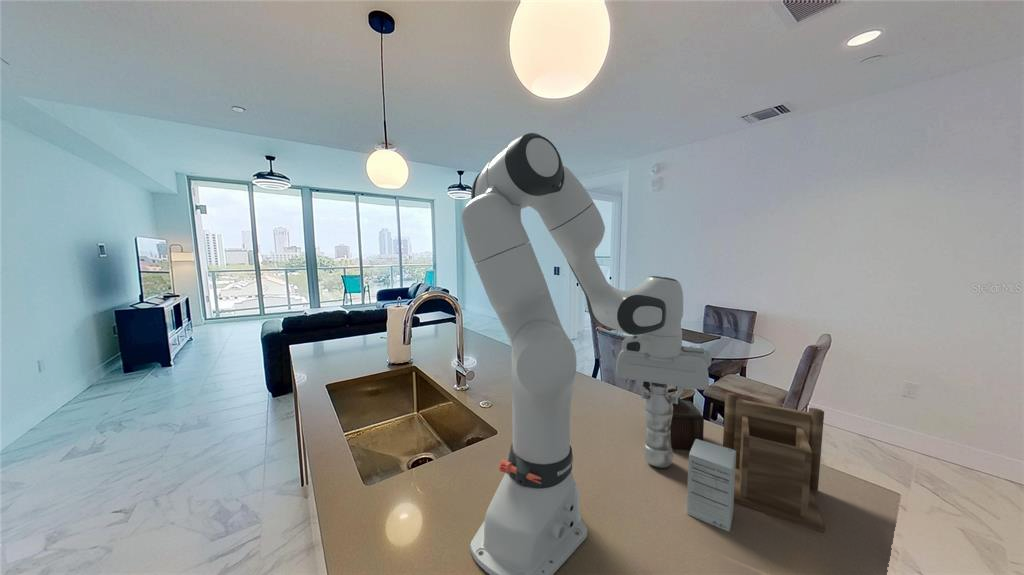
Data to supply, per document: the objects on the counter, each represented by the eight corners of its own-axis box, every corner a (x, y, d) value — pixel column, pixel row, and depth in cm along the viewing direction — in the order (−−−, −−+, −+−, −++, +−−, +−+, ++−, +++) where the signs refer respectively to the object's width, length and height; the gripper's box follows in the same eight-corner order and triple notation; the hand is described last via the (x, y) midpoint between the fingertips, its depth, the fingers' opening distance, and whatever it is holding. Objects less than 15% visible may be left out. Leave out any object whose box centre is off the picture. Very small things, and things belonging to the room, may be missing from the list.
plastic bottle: (678, 471, 77) (679, 389, 76) (649, 471, 78) (650, 389, 76) (665, 455, 84) (667, 379, 82) (639, 455, 84) (640, 379, 82)
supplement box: (692, 493, 71) (695, 437, 69) (734, 509, 66) (737, 450, 65) (685, 514, 65) (687, 453, 64) (729, 533, 60) (733, 468, 59)
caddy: (833, 535, 60) (841, 441, 58) (720, 497, 69) (724, 415, 68) (816, 488, 72) (822, 409, 70) (721, 462, 81) (725, 391, 80)
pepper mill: (689, 430, 96) (691, 370, 95) (703, 452, 86) (707, 385, 84) (633, 425, 99) (635, 367, 98) (641, 446, 88) (643, 381, 87)
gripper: (710, 345, 76) (708, 403, 78) (619, 337, 85) (618, 388, 87) (713, 352, 71) (710, 414, 72) (615, 342, 80) (614, 397, 81)
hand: (659, 400), depth 79 cm, fingers closed on plastic bottle, 5 cm apart
